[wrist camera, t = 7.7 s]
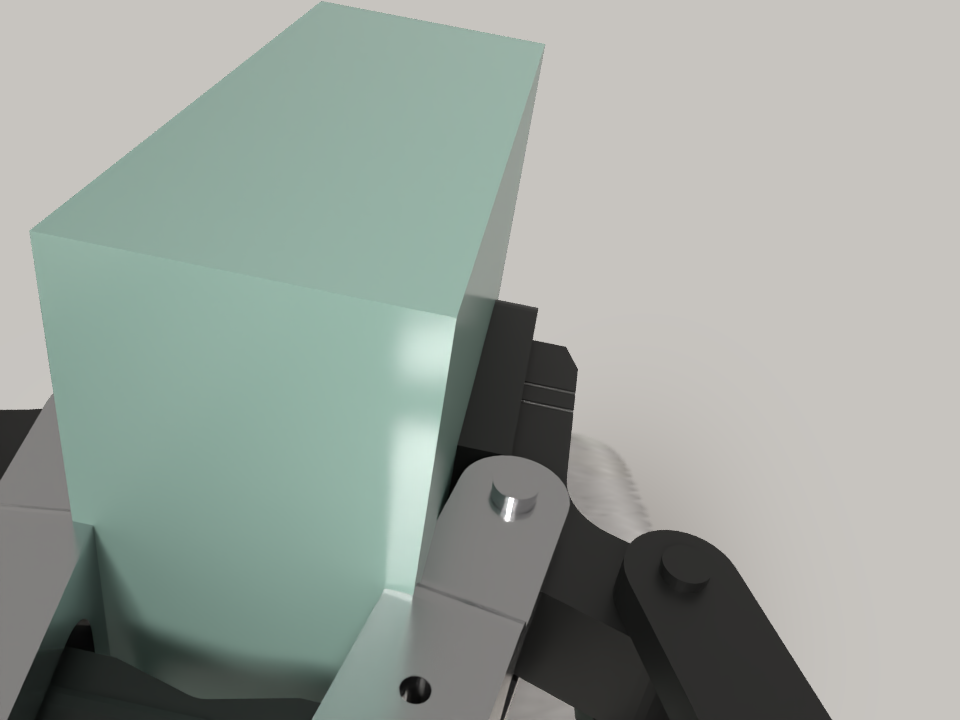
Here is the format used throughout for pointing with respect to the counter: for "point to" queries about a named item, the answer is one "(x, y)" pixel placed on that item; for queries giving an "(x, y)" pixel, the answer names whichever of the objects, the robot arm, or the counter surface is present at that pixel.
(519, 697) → the counter surface
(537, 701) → the counter surface
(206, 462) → the teal block
